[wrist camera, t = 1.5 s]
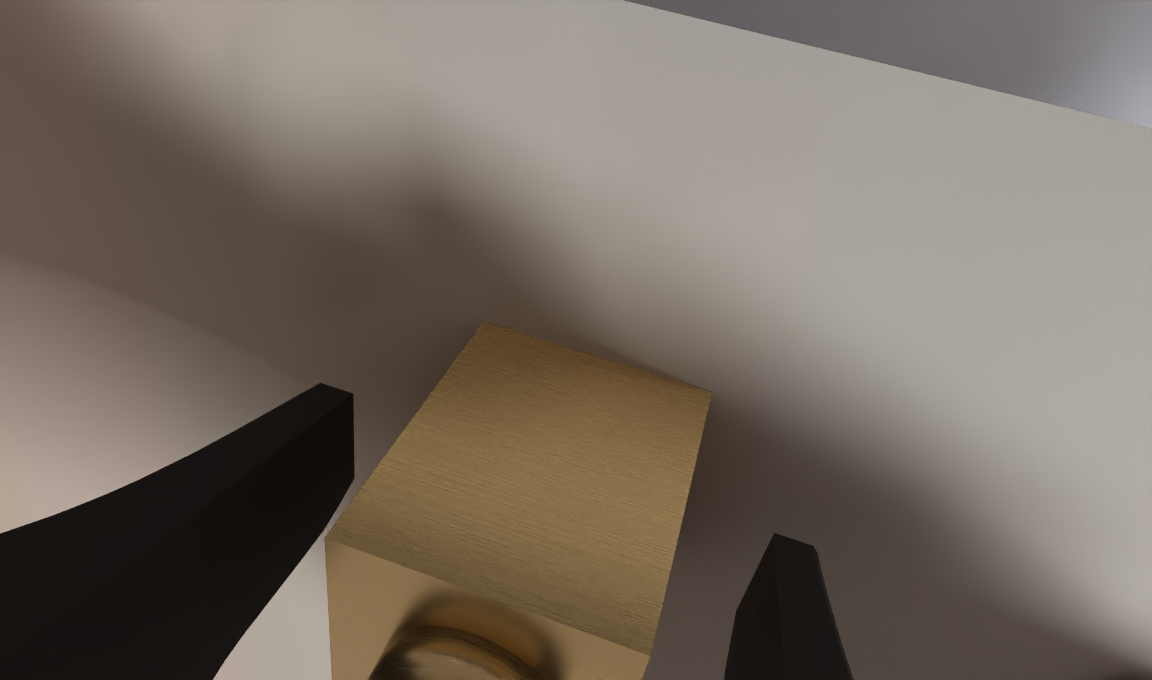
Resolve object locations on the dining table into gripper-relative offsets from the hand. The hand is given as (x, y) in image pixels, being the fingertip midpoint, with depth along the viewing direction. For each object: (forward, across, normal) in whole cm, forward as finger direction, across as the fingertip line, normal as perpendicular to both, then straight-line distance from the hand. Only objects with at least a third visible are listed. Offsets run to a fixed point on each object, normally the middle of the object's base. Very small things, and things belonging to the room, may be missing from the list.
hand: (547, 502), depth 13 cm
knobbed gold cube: (+2, 0, 0) cm, 2 cm away
